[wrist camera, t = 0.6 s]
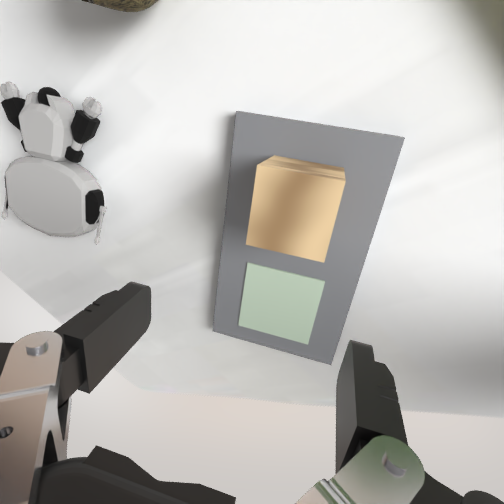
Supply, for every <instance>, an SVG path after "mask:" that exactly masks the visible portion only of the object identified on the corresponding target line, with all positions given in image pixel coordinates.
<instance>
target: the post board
mask: <svg viewBox="0 0 504 504" xmlns="http://www.w3.org/2000/svg"><path fill="white" fill-rule="evenodd" d="M404 139H405V138H404V137H400V136H393V135H387V134H381V133H374V132H368V131H362V130H355V129H349V128H343V127H336V126H330V125H323V124H317V123H311V122H304V121H298V120H292V119H285V118H279V117H273V116H266V115H260V114H254V113H247V112H241V111H236V119H235V128H234V138H233V147H232V156H231V165H230V175H229V184H228V193H227V202H226V212H225V221H224V230H223V239H222V248H221V258H220V267H219V276H218V285H217V295H216V304H215V313H214V322H213V331H214V332H217V333H221V334H224V335H228V336H231V337H235V338H238V339H242V340H245V341H249V342H252V343H256V344H259V345H263V346H266V347H270V348H273V349H277V350H280V351H284V352H287V353H291V354H294V355H298V356H301V357H305V358H308V359H312V360H315V361H319V362H322V363H326V364H329V365H331V363H332V360H333V357H334V354H335V351H336V348H337V345H338V342H339V339H340V336H341V333H342V330H343V326H344V323H345V320H346V317H347V314H348V311H349V308H350V305H351V302H352V299H353V296H354V293H355V290H356V286H357V283H358V280H359V277H360V274H361V271H362V268H363V265H364V262H365V259H366V256H367V253H368V250H369V246H370V243H371V240H372V237H373V234H374V231H375V228H376V225H377V222H378V219H379V216H380V213H381V210H382V206H383V203H384V200H385V197H386V194H387V191H388V188H389V185H390V182H391V179H392V176H393V173H394V170H395V166H396V163H397V160H398V157H399V154H400V151H401V148H402V145H403V142H404ZM274 155H275V156H281V157H287V158H292V159H298V160H303V161H309V162H315V163H320V164H326V165H331V166H337V167H343V168H344V172H345V180H346V182H345V186H344V190H343V194H342V197H341V201H340V205H339V209H338V212H337V216H336V220H335V224H334V228H333V231H332V235H331V239H330V243H329V246H328V250H327V254H326V258H325V261H324V263H323V262H319V261H315V260H310V259H306V258H302V257H297V256H293V255H289V254H284V253H280V252H276V251H272V250H267V249H263V248H259V247H254V246H250V245H246V240H247V233H248V226H249V219H250V212H251V205H252V198H253V191H254V184H255V177H256V170H257V165H258V164H260V163H262V162H263V161H265V160H267V159H269V158H270V157H272V156H274Z"/></svg>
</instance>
